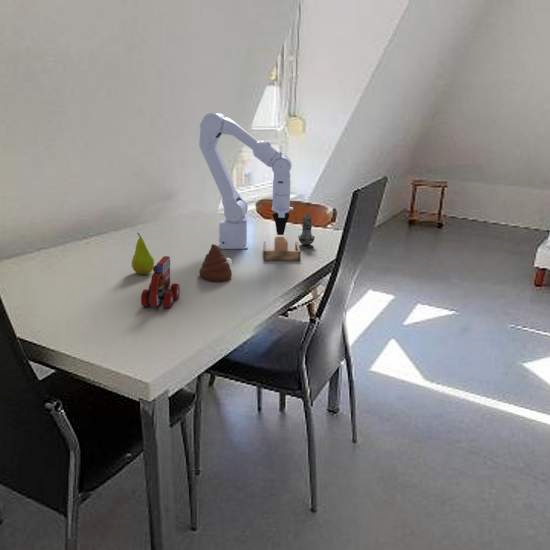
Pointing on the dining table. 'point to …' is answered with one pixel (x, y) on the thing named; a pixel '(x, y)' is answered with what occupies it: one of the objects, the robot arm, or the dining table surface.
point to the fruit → (142, 258)
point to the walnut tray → (282, 254)
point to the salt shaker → (306, 234)
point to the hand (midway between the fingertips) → (280, 234)
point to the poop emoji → (216, 266)
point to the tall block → (281, 244)
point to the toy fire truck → (161, 286)
